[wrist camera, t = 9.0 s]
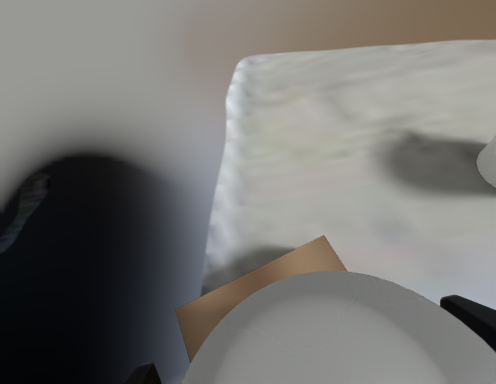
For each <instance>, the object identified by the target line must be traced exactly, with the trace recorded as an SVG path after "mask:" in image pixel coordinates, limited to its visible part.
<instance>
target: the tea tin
mask: <svg viewBox="0 0 496 384" xmlns="http://www.w3.org/2000/svg"><path fill="white" fill-rule="evenodd" d="M181 384H496V352H495V351H494V350H493V349H492V348H491V347H490V346H489V345H488V344H487V343H486V342H485V341H484V340H483V339H482V338H480V337H479V336H478V335H477V334H476V333H474V332H473V331H472V330H471V329H470V328H468V327H467V326H466V325H465V324H464V323H463V322H461V321H460V320H459V319H457V318H456V317H454V316H453V315H452V314H450V313H449V312H447V311H446V310H444V309H443V308H441V307H440V306H439V305H437V304H435V303H434V302H432V301H430V300H428V299H427V298H425V297H423V296H421V295H419V294H418V293H416V292H414V291H412V290H409V289H407V288H405V287H402V286H400V285H398V284H395V283H393V282H390V281H387V280H384V279H380V278H377V277H374V276H370V275H365V274H359V273H353V272H344V271H319V272H308V273H304V274H299V275H295V276H290V277H287V278H285V279H282V280H279V281H277V282H274V283H271V284H269V285H267V286H266V287H264V288H262V289H260V290H258V291H256V292H255V293H253V294H252V295H250V296H249V297H247V298H246V299H245V300H243V301H242V302H241V303H239V304H238V305H237V306H236V307H234V308H233V309H232V310H231V311H230V312H229V313H228V314H227V315H226V316H225V317H224V318H223V319H222V320H221V321H220V322H219V323H218V325H217V326H216V327H215V328H214V330H213V331H212V332H211V333H210V334H209V336H208V337H207V338H206V340H205V341H204V343H203V344H202V346H201V347H200V349H199V351H198V352H197V354H196V355H195V357H194V358H193V360H192V362H191V364H190V366H189V368H188V371H187V372H186V374H185V376H184V378H183V380H182V383H181Z"/></svg>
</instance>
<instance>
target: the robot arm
mask: <svg viewBox="0 0 496 384" xmlns="http://www.w3.org/2000/svg"><path fill="white" fill-rule="evenodd" d="M440 307H441V308H443V309H444V310H446V311H447V312H449V313H450V314H452V315H453V316H454V317H456V318H457V319H459V320H460V321H461V322H463V323H464V324H465V325H466V326H467V327H468V328H470V329H471V330H472V331H473V332H474V333H476V334H477V335H478V336H479V337H480V338H482V339H483V340H484V341H485V342H486V343H487V344H488V345H489V346H490V347H491V348H492V349H493V350H494V351H495V352H496V310H494V309H492V308H489V307H486V306H484V305H481V304H479V303H476V302H473V301H471V300H468V299H466V298H463V297H461V296H458V295H450V296H446V297H443V298H441V300H440ZM123 384H161V380H160V377H159V375H158V373H157V370H156V368H155V365H154V364H153V363H152V362H149V363H144V364H141V365H139V366H137V367H136V368H135V370H134V371H133V372H132V373H131V374H130V376H129V377H128V378H127V379H126V381H125V382H124V383H123Z"/></svg>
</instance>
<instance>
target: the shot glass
mask: <svg viewBox="0 0 496 384" xmlns="http://www.w3.org/2000/svg"><path fill="white" fill-rule="evenodd" d="M476 163H477V167H478V171H479V173H480V174H481V175H482V176H483V178H484V179H485V180H486V182H488V183H489V184H491V185H492V186H493V187H495V188H496V136H495V137H494V138H493V139H492V140H491V141H490V142H489V143H488V144H487V146H486V147H485V148H484V149H483V150H482V151H481V152H480V153H479V155H478V158H477V161H476Z"/></svg>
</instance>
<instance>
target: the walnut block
mask: <svg viewBox="0 0 496 384" xmlns="http://www.w3.org/2000/svg"><path fill="white" fill-rule="evenodd" d="M319 271H344V272H348V271H347V270H346V268H345V267H344V265H343V264H342V262H341V260H340V259H339V257H338V256H337V254H336V253H335V251H334V250H333V248H332V247H331V245H330V244H329V242H328V241H327V239H326V237H325V236H324V235H323V236H321V237H319V238H317V239H315V240H313V241H311V242H309V243H307V244H305V245H303V246H301V247H299V248H297V249H295V250H293V251H291V252H289V253H287V254H285V255H283V256H281V257H279V258H277V259H275V260H273V261H271V262H269V263H267V264H265V265H263V266H261V267H259V268H257V269H255V270H253V271H251V272H249V273H247V274H245V275H243V276H241V277H239V278H237V279H235V280H233V281H231V282H229V283H227V284H225V285H223V286H221V287H219V288H217V289H215V290H213V291H211V292H209V293H207V294H205V295H203V296H201V297H199V298H197V299H195V300H193V301H191V302H189V303H187V304H185V305H183V306H181V307H179V308H177V309H176V314H177V318H178V321H179V325H180V328H181V332H182V335H183V339H184V342H185V346H186V349H187V353H188V356H189V360H190V363H191V362H192V360H193V358H194V357H195V355H196V354H197V352H198V351H199V349H200V347H201V346H202V344H203V343H204V341H205V340H206V338H207V337H208V336H209V334H210V333H211V332H212V331H213V330H214V328H215V327H216V326H217V325H218V323H219V322H220V321H221V320H222V319H223V318H224V317H225V316H226V315H227V314H228V313H229V312H230V311H231V310H232V309H233V308H234V307H236V306H237V305H238V304H239V303H241V302H242V301H243V300H245V299H246V298H247V297H249V296H250V295H252V294H253V293H255V292H256V291H258V290H260V289H262V288H264V287H266V286H267V285H269V284H271V283H274V282H277V281H279V280H282V279H285V278H287V277H290V276H295V275H299V274H304V273H308V272H319Z"/></svg>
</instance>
